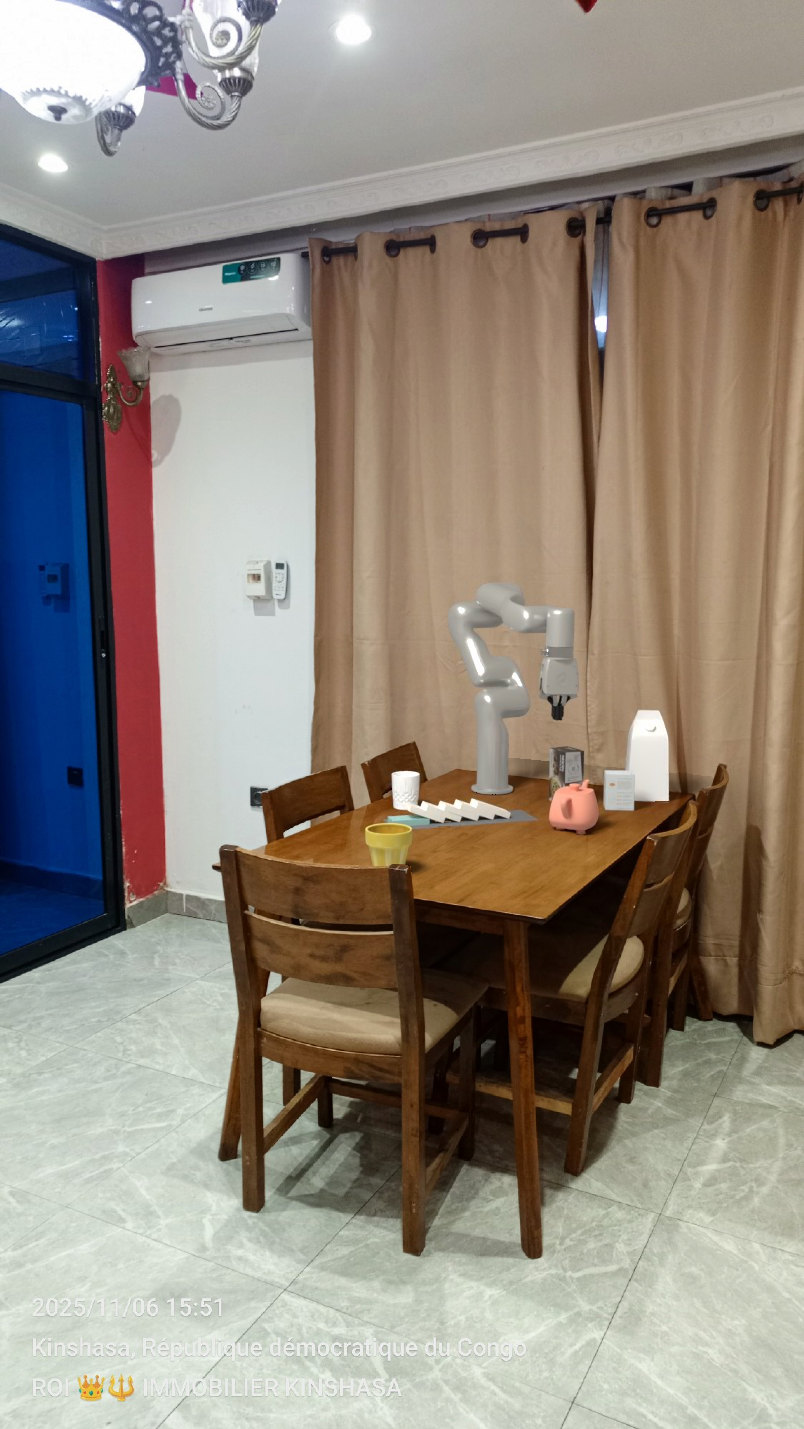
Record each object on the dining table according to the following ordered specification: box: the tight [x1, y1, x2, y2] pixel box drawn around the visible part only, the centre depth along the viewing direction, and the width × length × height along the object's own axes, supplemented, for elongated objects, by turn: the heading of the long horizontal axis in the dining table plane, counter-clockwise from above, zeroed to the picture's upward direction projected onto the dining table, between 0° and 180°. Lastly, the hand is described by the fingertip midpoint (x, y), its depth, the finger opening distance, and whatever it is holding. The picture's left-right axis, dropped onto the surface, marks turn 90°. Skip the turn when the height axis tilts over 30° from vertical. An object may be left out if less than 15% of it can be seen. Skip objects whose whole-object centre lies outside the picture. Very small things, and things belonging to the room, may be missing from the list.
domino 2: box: [404, 802, 445, 823], centre depth 253 cm, size 5×2×10 cm
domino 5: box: [453, 798, 495, 820], centre depth 257 cm, size 5×2×10 cm
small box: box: [603, 769, 635, 812], centre depth 271 cm, size 8×6×10 cm
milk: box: [624, 709, 670, 802], centre depth 284 cm, size 12×12×26 cm
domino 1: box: [387, 814, 430, 826], centre depth 252 cm, size 5×2×10 cm
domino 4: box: [437, 800, 479, 821], centre depth 256 cm, size 5×2×10 cm
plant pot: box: [364, 822, 413, 867], centre depth 212 cm, size 10×10×10 cm
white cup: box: [391, 770, 421, 811], centre depth 270 cm, size 8×8×10 cm
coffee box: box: [548, 746, 585, 802], centre depth 276 cm, size 9×6×16 cm
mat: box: [382, 809, 539, 830], centre depth 256 cm, size 12×40×1 cm, turn 106°
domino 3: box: [420, 800, 462, 822], centre depth 255 cm, size 5×2×10 cm
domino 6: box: [469, 798, 511, 819], centre depth 258 cm, size 5×2×10 cm
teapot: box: [548, 778, 599, 835], centre depth 249 cm, size 20×12×12 cm, turn 152°
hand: (557, 719), depth 264 cm, fingers closed
